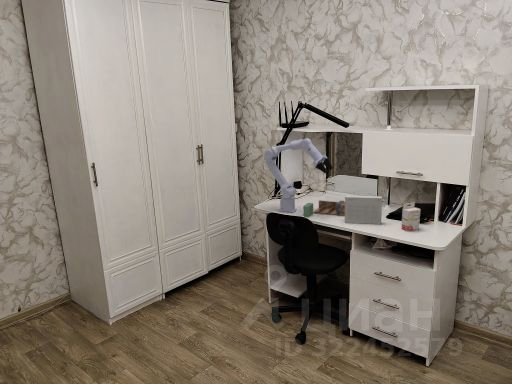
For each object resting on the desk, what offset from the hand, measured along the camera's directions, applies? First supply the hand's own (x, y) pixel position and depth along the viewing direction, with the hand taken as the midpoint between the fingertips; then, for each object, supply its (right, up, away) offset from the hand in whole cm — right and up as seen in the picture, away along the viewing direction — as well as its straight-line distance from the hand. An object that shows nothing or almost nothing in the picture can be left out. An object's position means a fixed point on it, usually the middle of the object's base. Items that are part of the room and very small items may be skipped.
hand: (329, 170), depth 248 cm
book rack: (+4, -26, +12) cm, 29 cm away
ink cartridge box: (+41, -34, -24) cm, 58 cm away
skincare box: (+18, -31, -9) cm, 37 cm away
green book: (-12, -28, +9) cm, 32 cm away
